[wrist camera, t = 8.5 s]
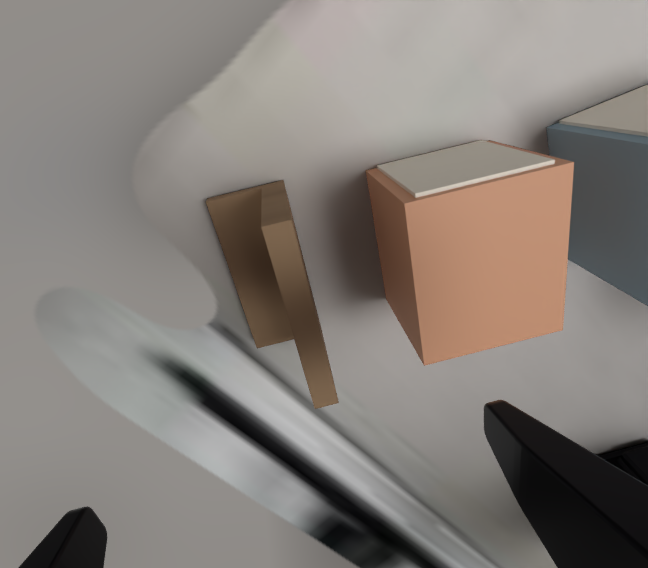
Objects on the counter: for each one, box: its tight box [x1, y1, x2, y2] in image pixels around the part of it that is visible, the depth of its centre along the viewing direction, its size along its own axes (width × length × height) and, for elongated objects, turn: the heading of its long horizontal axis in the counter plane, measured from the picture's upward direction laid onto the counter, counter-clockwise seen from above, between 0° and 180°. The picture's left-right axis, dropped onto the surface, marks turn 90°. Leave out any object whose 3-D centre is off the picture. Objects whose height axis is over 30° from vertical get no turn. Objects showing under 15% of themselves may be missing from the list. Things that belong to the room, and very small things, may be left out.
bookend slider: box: [206, 180, 339, 409], centre depth 18 cm, size 8×4×6 cm, turn 12°
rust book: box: [366, 140, 574, 365], centre depth 18 cm, size 7×6×6 cm
